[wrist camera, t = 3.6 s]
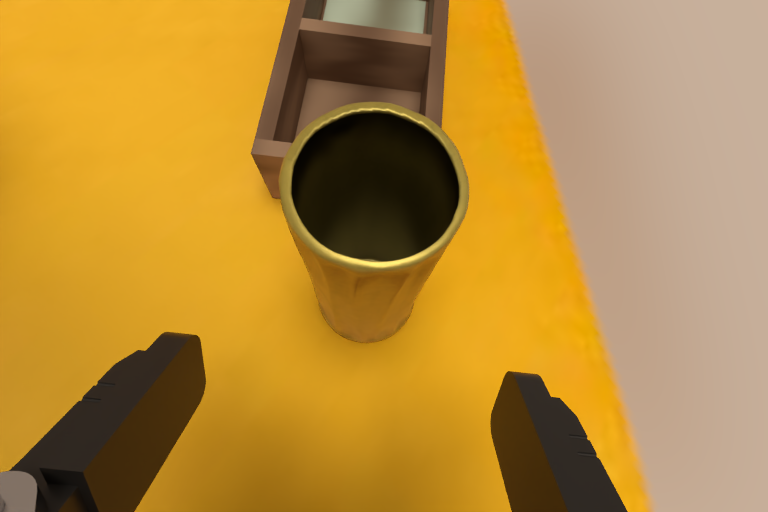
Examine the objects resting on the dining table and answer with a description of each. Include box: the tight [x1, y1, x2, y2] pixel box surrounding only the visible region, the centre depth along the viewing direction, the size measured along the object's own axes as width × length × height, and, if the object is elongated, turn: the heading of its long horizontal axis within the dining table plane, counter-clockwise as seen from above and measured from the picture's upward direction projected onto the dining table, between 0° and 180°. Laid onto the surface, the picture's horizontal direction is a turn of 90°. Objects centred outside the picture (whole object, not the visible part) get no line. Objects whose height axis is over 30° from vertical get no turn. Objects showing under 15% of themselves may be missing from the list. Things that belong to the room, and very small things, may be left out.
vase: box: [279, 102, 469, 343], centre depth 16 cm, size 6×6×14 cm
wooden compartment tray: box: [251, 0, 449, 198], centre depth 26 cm, size 10×20×5 cm, turn 174°
